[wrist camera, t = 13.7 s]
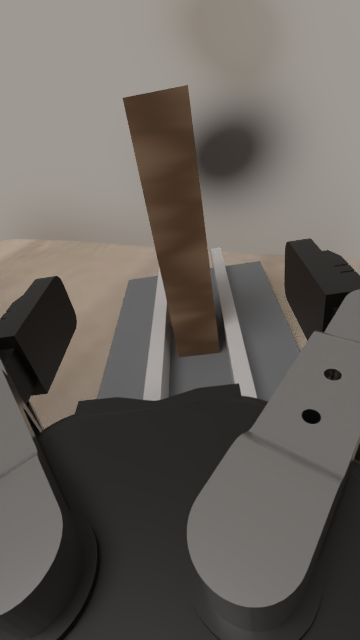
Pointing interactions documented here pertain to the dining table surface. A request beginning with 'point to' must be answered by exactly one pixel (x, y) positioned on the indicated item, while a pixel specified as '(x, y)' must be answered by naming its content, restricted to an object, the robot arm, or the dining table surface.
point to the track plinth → (211, 369)
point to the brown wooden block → (175, 213)
